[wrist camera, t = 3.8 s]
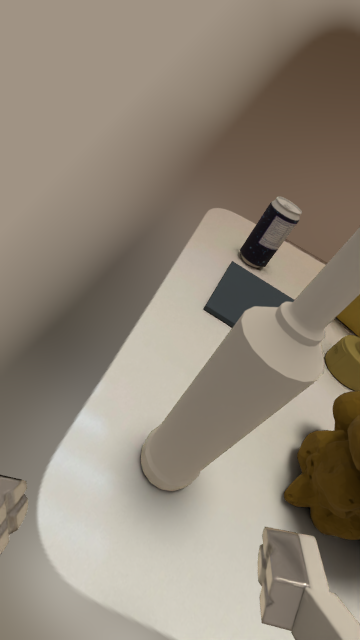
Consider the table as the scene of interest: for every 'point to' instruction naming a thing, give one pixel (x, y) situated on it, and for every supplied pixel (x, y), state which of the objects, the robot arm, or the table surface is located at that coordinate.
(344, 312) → the flower pot
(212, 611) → the table surface
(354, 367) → the sculpture
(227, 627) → the table surface
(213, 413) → the bottle
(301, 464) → the gourd
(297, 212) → the beverage can
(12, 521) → the robot arm
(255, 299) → the slate mat
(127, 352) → the table surface
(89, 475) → the table surface
